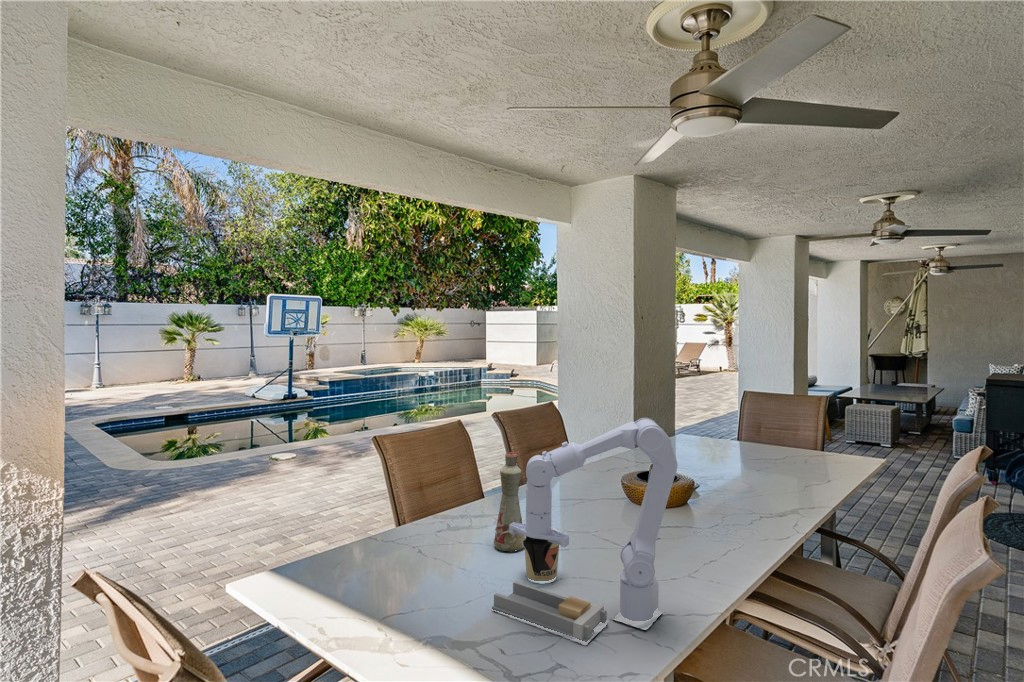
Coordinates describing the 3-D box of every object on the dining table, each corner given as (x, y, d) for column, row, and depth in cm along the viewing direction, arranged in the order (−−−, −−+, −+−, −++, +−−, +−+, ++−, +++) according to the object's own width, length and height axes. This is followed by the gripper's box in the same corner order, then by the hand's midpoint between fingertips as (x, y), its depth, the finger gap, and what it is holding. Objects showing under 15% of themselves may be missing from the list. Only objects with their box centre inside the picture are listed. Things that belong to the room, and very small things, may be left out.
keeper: (570, 613, 127) (570, 596, 127) (590, 620, 124) (590, 602, 124) (558, 623, 123) (558, 605, 123) (579, 630, 120) (579, 612, 120)
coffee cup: (529, 588, 141) (529, 540, 141) (519, 572, 150) (519, 526, 150) (565, 583, 144) (565, 536, 144) (552, 568, 153) (553, 523, 153)
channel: (517, 594, 138) (517, 577, 138) (607, 625, 124) (608, 606, 124) (491, 611, 130) (492, 593, 130) (586, 646, 116) (586, 626, 116)
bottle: (522, 554, 161) (522, 456, 160) (490, 552, 163) (491, 454, 162) (527, 543, 170) (528, 449, 169) (497, 540, 172) (498, 447, 171)
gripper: (576, 512, 127) (575, 572, 127) (521, 500, 135) (520, 556, 136) (560, 521, 121) (559, 584, 122) (504, 507, 129) (503, 567, 130)
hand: (537, 570), depth 128 cm, fingers closed
